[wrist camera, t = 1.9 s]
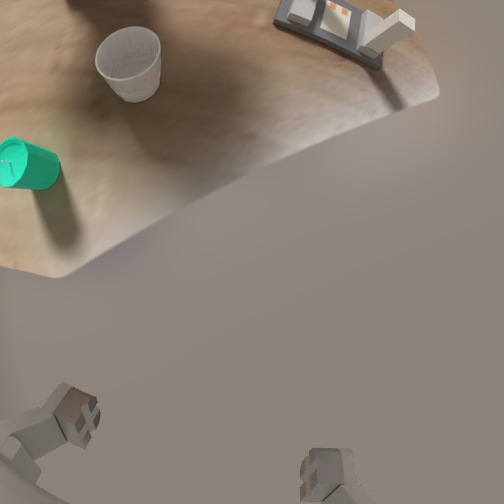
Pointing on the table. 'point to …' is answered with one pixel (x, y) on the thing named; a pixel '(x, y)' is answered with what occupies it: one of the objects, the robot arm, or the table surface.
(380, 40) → the knob
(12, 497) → the robot arm
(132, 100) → the white cup
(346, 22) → the switch box
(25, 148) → the candle
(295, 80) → the table surface
